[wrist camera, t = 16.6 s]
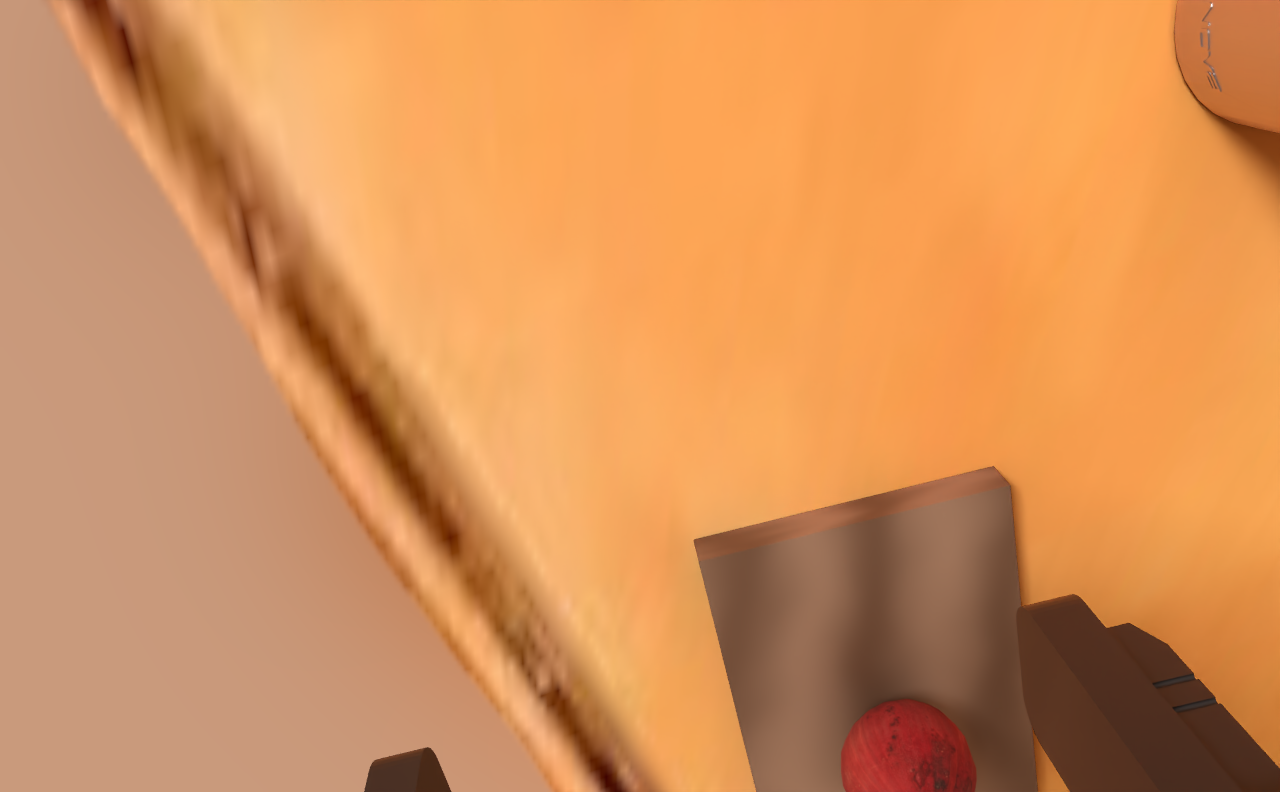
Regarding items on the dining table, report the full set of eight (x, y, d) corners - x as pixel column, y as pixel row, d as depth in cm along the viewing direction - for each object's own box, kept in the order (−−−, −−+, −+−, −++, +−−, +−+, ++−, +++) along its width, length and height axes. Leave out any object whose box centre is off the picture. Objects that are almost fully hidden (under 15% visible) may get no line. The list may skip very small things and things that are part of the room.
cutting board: (993, 466, 45) (1010, 485, 43) (1024, 786, 53) (1039, 812, 51) (693, 539, 45) (698, 561, 43) (770, 846, 53) (777, 874, 51)
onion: (852, 651, 46) (909, 781, 39) (961, 677, 47) (1035, 808, 40) (805, 745, 48) (849, 885, 41) (909, 767, 49) (972, 908, 42)
